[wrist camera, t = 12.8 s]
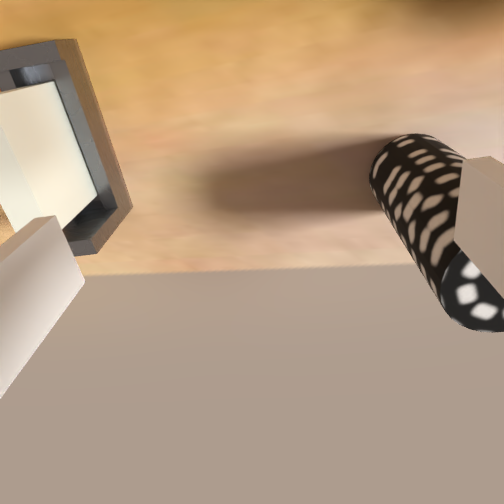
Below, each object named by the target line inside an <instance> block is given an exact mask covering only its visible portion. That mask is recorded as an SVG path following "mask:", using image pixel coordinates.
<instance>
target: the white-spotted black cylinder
mask: <svg viewBox="0 0 504 504" xmlns="http://www.w3.org/2000/svg"><path fill="white" fill-rule="evenodd" d="M463 160H466V158H465V157H463V156H462V155H460V154H459V153H457V152H456V151H454V150H453V149H451V148H450V147H448V146H447V145H445V144H444V143H442V142H441V141H439V140H437V139H436V138H434V137H432V136H429V135H425V134H410V135H406V136H402V137H399V138H397V139H396V140H394V141H392V142H390V143H389V144H388V145H386V146H385V147H384V148H383V149H382V150H381V151H380V152H379V154H378V155H377V157H376V158H375V160H374V162H373V164H372V166H371V170H370V175H369V182H370V187H371V190H372V192H373V195H374V196H375V198H376V200H377V201H378V203H379V204H380V206H381V208H382V209H383V211H384V213H385V214H386V216H387V217H388V219H389V221H390V222H391V224H392V226H393V227H394V229H395V230H396V232H397V234H398V235H399V237H400V239H401V240H402V242H403V243H404V245H405V247H406V248H407V250H408V251H409V253H410V255H411V256H412V258H413V260H414V261H415V263H416V264H417V266H418V268H419V269H420V271H421V273H422V274H423V276H424V277H425V279H426V281H427V282H428V284H429V285H430V287H431V289H432V290H433V292H434V293H435V295H436V297H437V298H438V300H439V301H440V303H441V305H442V307H443V308H444V310H445V311H446V313H447V314H448V315H449V316H450V318H451V319H453V320H454V321H455V322H457V323H458V324H459V325H462V326H464V327H466V328H468V329H472V330H476V331H480V332H504V299H503V297H502V296H501V295H500V294H499V293H498V292H497V290H496V289H495V288H494V287H493V286H492V285H491V283H490V282H489V281H488V280H487V279H486V278H485V276H484V275H483V274H482V273H481V272H480V271H479V269H478V268H477V267H476V266H475V265H474V264H473V262H472V261H471V260H470V259H469V258H468V257H467V255H466V254H465V253H464V252H463V251H462V250H461V248H460V247H459V246H458V245H457V244H456V243H455V241H454V233H455V224H456V215H457V207H458V198H459V189H460V181H461V172H462V163H463Z"/></svg>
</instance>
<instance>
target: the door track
mask: <svg viewBox="0 0 504 504" xmlns="http://www.w3.org/2000/svg"><path fill="white" fill-rule="evenodd" d="M53 80H55V81H56V83H57V86H58V89H59V91H60V94H61V96H62V99H63V102H64V104H65V107H66V110H67V112H68V115H69V118H70V120H71V123H72V125H73V128H74V131H75V133H76V136H77V139H78V141H79V144H80V146H81V149H82V152H83V154H84V157H85V160H86V162H87V165H88V167H89V170H90V173H91V175H92V178H93V181H94V183H95V186H96V188H97V191H98V195H97V196H96V197H95V198H94V199H93V200H92V201H91V202H90V203H89V204H88V205H87V206H86V207H85V208H84V209H83V210H81V211H80V212H79V213H78V214H77V215H76V216H75V217H74V218H73V219H72V220H71V221H70V222H69V223H68V224H67V225H66V226H65V227H64V228H63V229H62V231H63V233H64V235H65V238H66V240H67V242H68V244H69V246H70V249H71V251H72V253H73V255H74V256H83V255H91V254H97V253H98V252H99V250H100V249H101V248H102V247H103V245H104V244H105V243H106V241H107V240H108V239H109V237H110V236H111V235H112V234H113V232H114V231H115V230H116V228H117V227H118V226H119V224H120V223H121V222H122V220H123V219H124V218H125V217H126V215H127V214H128V213H129V211H130V210H131V209H132V207H133V205H132V202H131V199H130V196H129V193H128V190H127V187H126V184H125V182H124V179H123V176H122V173H121V170H120V167H119V164H118V161H117V158H116V155H115V152H114V149H113V146H112V143H111V140H110V137H109V134H108V131H107V128H106V125H105V123H104V120H103V117H102V114H101V111H100V108H99V105H98V102H97V99H96V96H95V93H94V90H93V87H92V84H91V81H90V78H89V75H88V72H87V69H86V67H85V64H84V61H83V58H82V55H81V52H80V49H79V46H78V43H77V40H76V39H68V40H53V41H48V42H43V43H38V44H33V45H27V46H22V47H17V48H12V49H7V50H2V51H0V89H1V91H2V92H3V91H8V90H12V89H16V88H20V87H24V86H28V85H33V84H37V83H42V82H47V81H53Z"/></svg>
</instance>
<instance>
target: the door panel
mask: <svg viewBox="0 0 504 504" xmlns="http://www.w3.org/2000/svg"><path fill="white" fill-rule="evenodd" d="M97 195H98V191H97V188H96V186H95V183H94V181H93V178H92V175H91V173H90V170H89V167H88V165H87V162H86V160H85V157H84V154H83V152H82V149H81V146H80V144H79V141H78V139H77V136H76V133H75V131H74V128H73V125H72V123H71V120H70V118H69V115H68V112H67V110H66V107H65V104H64V102H63V99H62V96H61V94H60V91H59V89H58V86H57V83H56V81H55V80H53V81H47V82H42V83H37V84H33V85H28V86H24V87H20V88H16V89H12V90H8V91H3V92H0V204H1V206H2V208H3V210H4V211H5V213H6V215H7V217H8V219H9V221H10V223H11V225H12V227H13V229H14V231H15V233H16V232H18V231H19V230H20V229H21V228H23V227H24V226H25V225H26V224H28V223H29V222H30V221H31V220H33V219H34V218H38V217H46V216H53V215H55V216H56V218H57V220H58V222H59V224H60V227H61V229H63V228H64V227H65V226H66V225H67V224H68V223H69V222H70V221H71V220H72V219H73V218H74V217H75V216H76V215H77V214H78V213H79V212H80V211H81V210H83V209H84V208H85V207H86V206H87V205H88V204H89V203H90V202H91V201H92V200H93V199H94V198H95V197H96V196H97Z"/></svg>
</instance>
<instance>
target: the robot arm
mask: <svg viewBox="0 0 504 504" xmlns="http://www.w3.org/2000/svg"><path fill="white" fill-rule="evenodd" d="M454 241H455V243H456V244H457V245H458V246H459V247H460V248H461V250H462V251H463V252H464V253H465V254H466V255H467V257H468V258H469V259H470V260H471V261H472V262H473V264H474V265H475V266H476V267H477V268H478V269H479V271H480V272H481V273H482V274H483V275H484V276H485V278H486V279H487V280H488V281H489V282H490V283H491V285H492V286H493V287H494V288H495V289H496V290H497V292H498V293H499V294H500V295H501V296H502V297H503V299H504V164H502V163H501V162H499V161H497V160H496V159H494V158H492V157H491V156H488V157H480V158H473V159H466V160H463V163H462V172H461V181H460V189H459V198H458V207H457V215H456V224H455V233H454ZM84 283H85V280H84V277H83V275H82V273H81V271H80V269H79V266H78V264H77V262H76V260H75V258H74V255H73V253H72V251H71V249H70V246H69V244H68V242H67V240H66V238H65V235H64V233H63V231H62V229H61V227H60V224H59V222H58V220H57V218H56V216H55V215H53V216H46V217H38V218H34V219H33V220H31V221H30V222H29V223H28V224H26V225H25V226H24V227H23V228H21V229H20V230H19V231H18V232H16V233H15V234H14V235H13V236H12V237H10V238H9V239H8V240H7V241H5V242H4V243H3V244H2V245H0V398H1V397H2V396H3V394H4V393H5V392H6V390H7V389H8V387H9V386H10V385H11V383H12V382H13V381H14V379H15V378H16V376H17V375H18V374H19V372H20V371H21V370H22V368H23V367H24V366H25V364H26V363H27V361H28V360H29V359H30V357H31V356H32V354H33V353H34V352H35V350H36V349H37V348H38V346H39V345H40V344H41V342H42V341H43V339H44V338H45V337H46V335H47V334H48V333H49V331H50V330H51V328H52V327H53V326H54V324H55V323H56V322H57V320H58V319H59V317H60V316H61V315H62V313H63V312H64V311H65V309H66V308H67V307H68V305H69V304H70V302H71V301H72V299H73V298H74V297H75V296H76V294H77V293H78V291H79V290H80V288H81V287H82V286H83V285H84Z"/></svg>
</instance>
